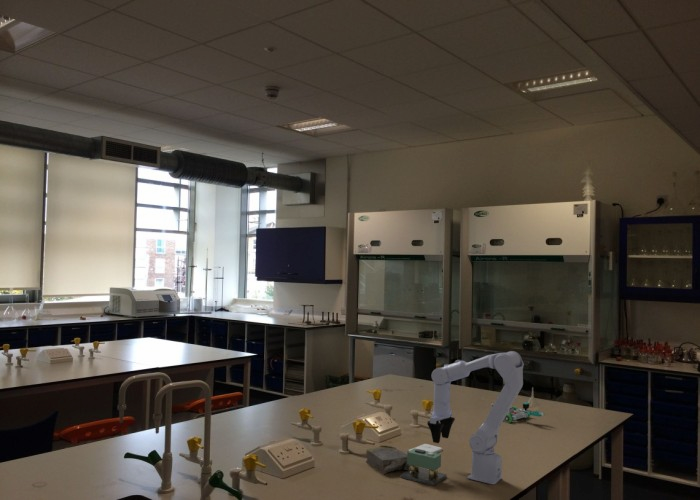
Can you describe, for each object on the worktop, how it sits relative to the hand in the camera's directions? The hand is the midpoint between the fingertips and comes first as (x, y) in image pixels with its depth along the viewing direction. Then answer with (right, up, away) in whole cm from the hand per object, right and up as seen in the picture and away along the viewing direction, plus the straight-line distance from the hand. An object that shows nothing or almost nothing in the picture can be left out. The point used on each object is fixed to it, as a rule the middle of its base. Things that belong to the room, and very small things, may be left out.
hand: (440, 440), depth 202 cm
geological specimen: (-19, -9, -1) cm, 21 cm away
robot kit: (+49, -14, +70) cm, 86 cm away
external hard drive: (-3, -11, +17) cm, 20 cm away
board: (-7, -5, -11) cm, 14 cm away
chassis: (-7, -9, -11) cm, 16 cm away
